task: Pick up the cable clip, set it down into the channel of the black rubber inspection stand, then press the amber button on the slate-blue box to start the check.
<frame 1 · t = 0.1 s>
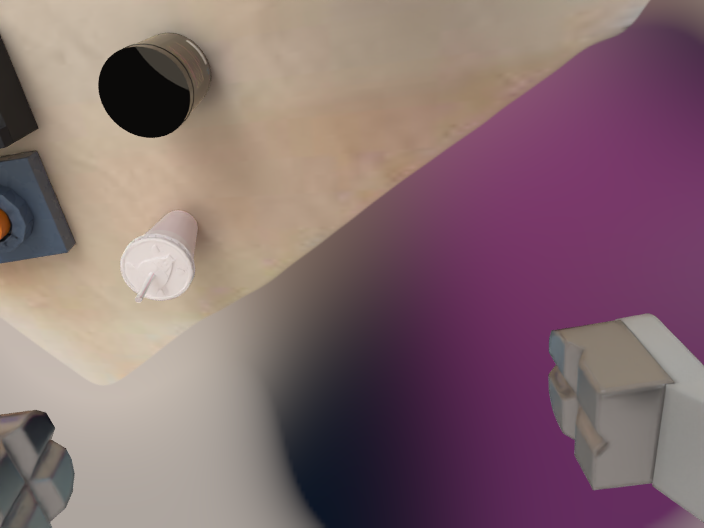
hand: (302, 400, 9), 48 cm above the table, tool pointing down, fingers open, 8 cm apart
supplement container: (175, 70, 52), on the table
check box: (8, 206, 57), on the table
smoothie: (180, 225, 59), on the table
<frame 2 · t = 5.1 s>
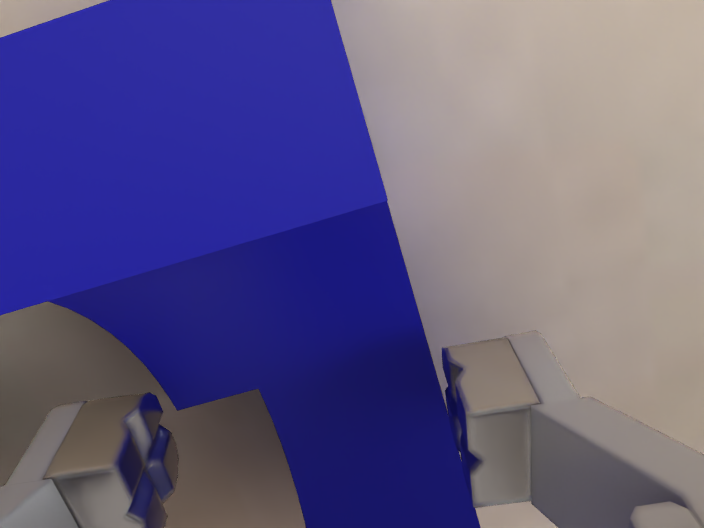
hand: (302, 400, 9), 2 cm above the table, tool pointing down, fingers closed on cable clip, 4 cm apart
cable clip: (302, 322, 11), on the table, touching gripper
when the fingers open (7 cm above the table, at t = 10.3 s): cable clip stays where it is, resting on inspection stand.
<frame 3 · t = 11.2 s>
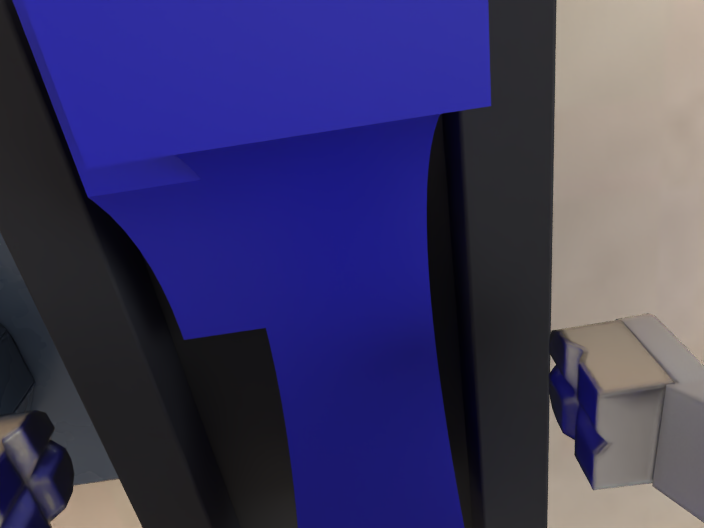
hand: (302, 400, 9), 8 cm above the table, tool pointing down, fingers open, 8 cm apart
inspection stand: (312, 209, 16), on the table
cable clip: (308, 276, 12), point 5 cm above the table, touching inspection stand
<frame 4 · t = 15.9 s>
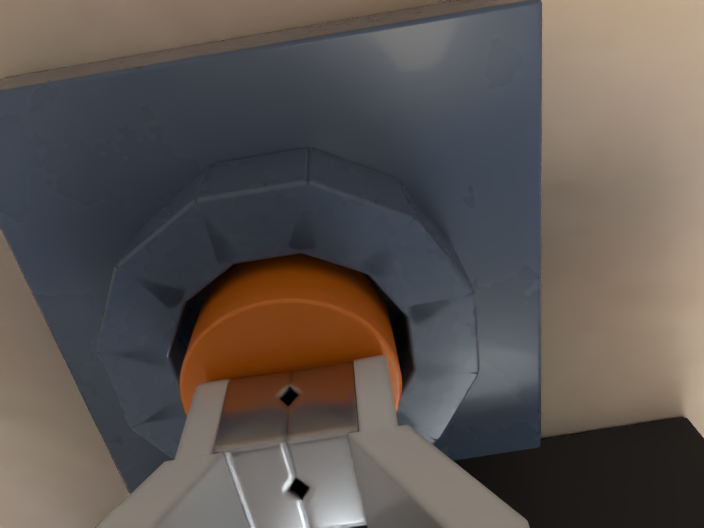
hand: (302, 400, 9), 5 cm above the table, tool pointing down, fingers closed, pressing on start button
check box: (299, 259, 14), on the table
start button: (293, 362, 10), point 4 cm above the table, slide at -0.4 cm, touching gripper
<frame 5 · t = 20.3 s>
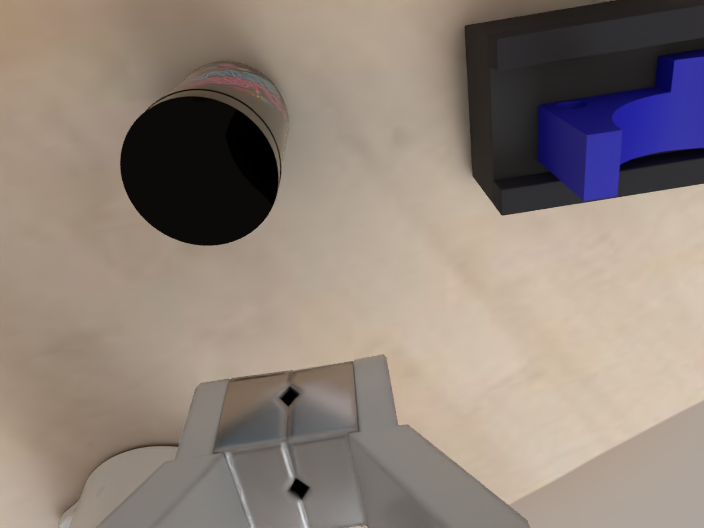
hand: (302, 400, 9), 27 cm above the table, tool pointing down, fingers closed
supplement container: (233, 117, 34), on the table
inspection stand: (601, 83, 34), on the table
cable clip: (651, 100, 30), point 5 cm above the table, touching inspection stand
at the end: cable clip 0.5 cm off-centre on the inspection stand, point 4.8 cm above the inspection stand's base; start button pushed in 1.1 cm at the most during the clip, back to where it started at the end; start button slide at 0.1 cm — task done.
